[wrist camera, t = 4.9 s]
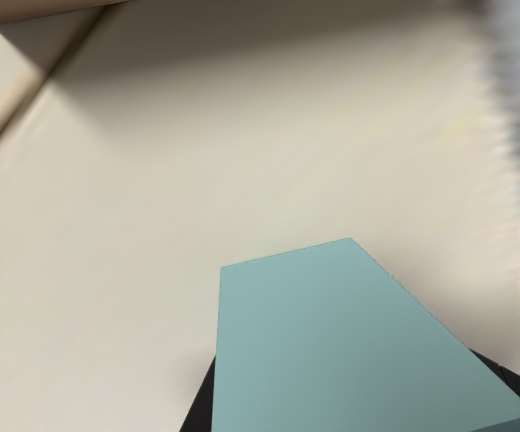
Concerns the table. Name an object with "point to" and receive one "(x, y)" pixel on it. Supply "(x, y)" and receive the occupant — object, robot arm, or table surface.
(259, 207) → the table surface
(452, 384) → the teal block
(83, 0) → the plinth
